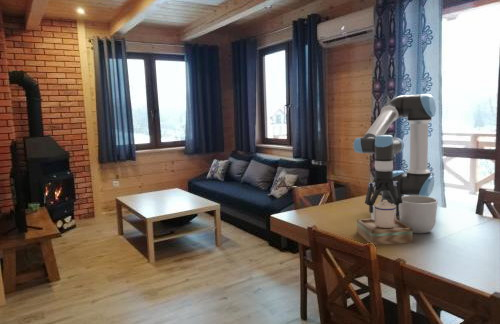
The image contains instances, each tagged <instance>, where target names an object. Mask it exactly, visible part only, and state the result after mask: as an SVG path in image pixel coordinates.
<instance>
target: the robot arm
mask: <svg viewBox="0 0 500 324" xmlns="http://www.w3.org/2000/svg"><path fill="white" fill-rule="evenodd" d="M436 112H437V106H436V101H435V99H434V96H432V94H429V93H421V94H420V93H419V94H410V95H409V94H407V95H398V96H396V97H393V98H392V99H391V100H388V102H386V103H385V104H384V105H383V106H382V108H381V110H380V112H379V113H380V114H379V115H378V116H377V117H376V119H375V120H374V122H373V123H372V125H371V126H370V127H369V129H368V130H367V131H366V132H365V134H364V135H363V136H362V137H356V138H355V139H354V141H353V146H352V147H353V150H354V152H355V153H357V154H374V169H375V170H374V182H368V183H367V191H366V196H365V200H364V204H366V205H367V206H368V211H369V213H370V219H372V220H373V221H374V220H375V204H376V201H377V199H378V197H379V194H380V193H381V198H380V202H383V200H387V202H389V203H391V204H393V205H395V206H396V209H395V219H397V216H399V203H402V196H426V197H430V196H431V194H432V193H433V190H434V187H435V177H434V175H431V171H430V169H429V168H428V164H429V163H428V158H429V157H428V156H429V154H428V150H429V149H428V147H429V123H431V121H432V120H433V119H432V118H433V117H435V116H436V114H437V113H436ZM399 118H406V120H407V122H408V123H409V124H410V125H409V126H410V127H409V128H410V129H409V130H410V131H409V133H410V135H409V137H410V138H409V144H410V145H409V168H408V169H407V171H406V173H405V171H404V170H394V155H397V154H399V153H401V152H402V151H403V150H404V147H405V143H404V141H403V139H401V138H399V137H393V135H391V134H385V133H386V132H387V131H388V129H389V128H390V126H391V125H392V124H393V123H394V122H396V121H397V120H398V119H399ZM374 187H375V188H374ZM373 190H374V192H373ZM380 202H379V203H380Z"/></svg>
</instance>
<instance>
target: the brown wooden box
mask: <svg viewBox="0 0 500 324" xmlns="http://www.w3.org/2000/svg"><path fill="white" fill-rule="evenodd" d="M412 230H413V229H412V228H411V227H409V226H407V225H406V224H404V223H402V222H401V221H400V219H398V218H396V219H395V226H394V227H392V228H381V227H377V226H376V225H375V220H374V221H373V220H372V219H371V218H362V219H360V218H358V219H356V232H357V233H358V235H360V236H361V237H362V238H363V239H364V240H365V241H366V242H367V243H369V242H370V243H373V244H375V245H376V246H377V245H392V244H395V245H396V244H405V243H406V244H407V243H413V231H412ZM370 243H369V244H370ZM375 245H374V246H375Z"/></svg>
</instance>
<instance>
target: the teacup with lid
mask: <svg viewBox="0 0 500 324" xmlns="http://www.w3.org/2000/svg"><path fill="white" fill-rule="evenodd" d="M374 206H375V225H376V226H377V227H381V228H392V227H394V226H395V209H396V206H395V205H393V204H391V203H389V202H387V200H383V202H379V203H375V204H374Z"/></svg>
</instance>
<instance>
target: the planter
mask: <svg viewBox="0 0 500 324" xmlns="http://www.w3.org/2000/svg"><path fill="white" fill-rule="evenodd" d="M438 202H439V201H438V199H436V198H434V197H431V196H428V197H426V196H410V195H404V196H402V203H399V215H398V216H399V219H398V220H399V221H401V222H402V223H404V224H406V225H407V226H409V227H411V228H412V229H413V230H412V231H413V233H414V234H427V233H429V232H431V231H432V230H433V229H434V227H435V225H436V221H437V213H438V212H437V211H438Z"/></svg>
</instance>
